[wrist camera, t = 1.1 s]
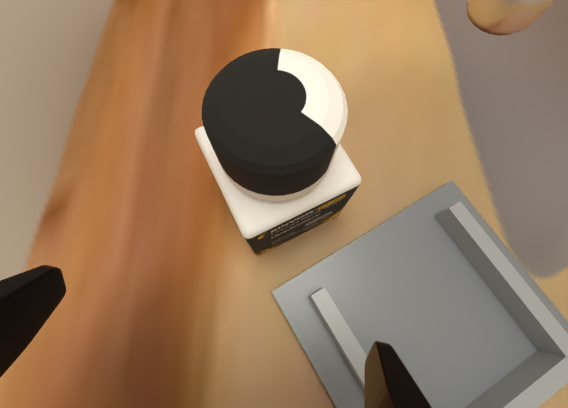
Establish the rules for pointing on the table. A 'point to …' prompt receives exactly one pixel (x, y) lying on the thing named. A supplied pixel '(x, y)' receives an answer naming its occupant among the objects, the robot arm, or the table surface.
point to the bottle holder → (431, 311)
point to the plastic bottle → (505, 14)
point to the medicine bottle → (277, 144)
